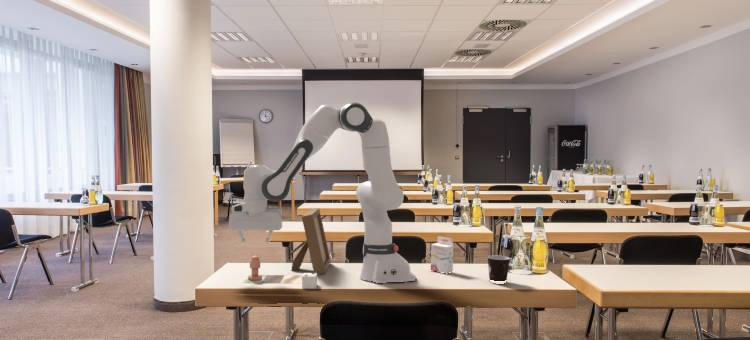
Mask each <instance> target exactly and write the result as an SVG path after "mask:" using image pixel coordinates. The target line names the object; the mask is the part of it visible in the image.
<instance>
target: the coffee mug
mask: <svg viewBox="0 0 750 340" xmlns="http://www.w3.org/2000/svg"><path fill="white" fill-rule="evenodd" d="M510 260H511V258H510V257H509V256H506V255H501V254H500V255H497V254H492V255H487V267H488V277H489V279H490V280H494V281H505V280H508V274H509V273H508V272H509V269H510V268H509V267H510ZM490 280H489V281H490Z"/></svg>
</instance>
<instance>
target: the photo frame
mask: <svg viewBox="0 0 750 340" xmlns="http://www.w3.org/2000/svg"><path fill="white" fill-rule="evenodd" d="M301 219H302V225H303V229H304V233H305V234H304V235H305V239H306V240H305V242H304V243H303V245H302V246H301V248H300V250H298V252H297V254H296V255H295V257H294V258H293V260H292V262H291V263H292V264H291V272H294V271H297V270H300V269H301V266H302V264H303V261H304V258H305V257H306V254H307V251H309V255H310V256H309V257H310V260H311V265H312V270H313V273H317V275H324V274H326V272H327V271H328V268H329V267H330V264H331V263H332V261H331V257H330V251H329V247H328V246H329V245H328V242H327V239H326V232H325V228H324V224H323V223H324V222H323V219H322V215H321V210H320V208H314V209H310V210H308V211H307V212H306V213H304V214H303V215H302V216H301Z"/></svg>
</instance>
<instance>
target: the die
mask: <svg viewBox="0 0 750 340" xmlns="http://www.w3.org/2000/svg"><path fill="white" fill-rule="evenodd" d="M317 284H318V274H317V273H314V272H303V274H302V278H301V289H317Z"/></svg>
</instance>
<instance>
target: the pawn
mask: <svg viewBox="0 0 750 340" xmlns="http://www.w3.org/2000/svg"><path fill="white" fill-rule="evenodd" d="M260 268H261V259H260V257H259V256H258V255H253V256H252V257H251V258H250V259H249V269H251V274H248V275H249V276H248V275H247V276H248V280H251V281H257V280H261V279H262V275H263V274H260V273H259V269H260Z"/></svg>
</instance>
